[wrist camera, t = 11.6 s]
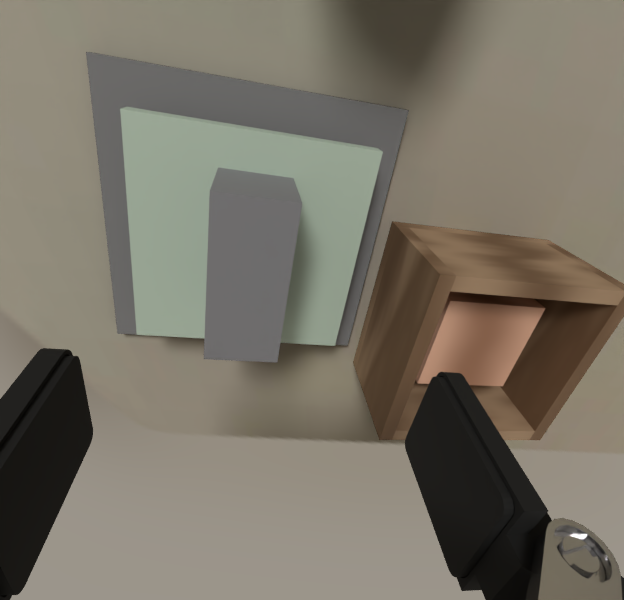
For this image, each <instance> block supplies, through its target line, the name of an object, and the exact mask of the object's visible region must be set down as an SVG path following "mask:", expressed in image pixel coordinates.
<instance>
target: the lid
mask: <svg viewBox="0 0 624 600" xmlns="http://www.w3.org/2000/svg"><path fill="white" fill-rule="evenodd" d="M120 113H121V127H122V140H123V154H124V168H125V182H126V195H127V209H128V223H129V236H130V250H131V264H132V277H133V291H134V305H135V318H136V332H137V335H151V336H169V337H187V338H204V359H214V360H236V361H258V362H277V361H278V355H279V348H280V343H293V344H311V345H329V346H335V343H336V339H337V335H338V331H339V327H340V323H341V319H342V315H343V311H344V307H345V303H346V299H347V295H348V291H349V287H350V283H351V279H352V275H353V271H354V267H355V263H356V259H357V255H358V251H359V246H360V242H361V238H362V234H363V230H364V226H365V222H366V218H367V214H368V210H369V206H370V202H371V198H372V194H373V190H374V186H375V182H376V178H377V174H378V170H379V166H380V162H381V158H382V154H383V151H381V150H379V149H378V148H374V147H368V146H362V145H356V144H350V143H344V142H338V141H332V140H326V139H319V138H313V137H307V136H301V135H295V134H289V133H283V132H277V131H271V130H265V129H259V128H253V127H247V126H241V125H235V124H229V123H223V122H217V121H211V120H205V119H199V118H193V117H186V116H180V115H174V114H168V113H162V112H156V111H150V110H144V109H138V108H132V107H124V108H121V109H120Z"/></svg>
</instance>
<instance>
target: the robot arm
mask: <svg viewBox="0 0 624 600" xmlns="http://www.w3.org/2000/svg"><path fill="white" fill-rule="evenodd" d="M92 436H93V427H92V422H91V416H90V411H89V406H88V401H87V395H86V390H85V385H84V380H83V374H82V369H81V364H80V360H79V357H78V356H73V355H72V352H71V351H70V350H64V349H47V348H43V349H40V350H39V351H38V352H37V354H36V355H35V356H34V357H33V359H32V360H31V361H30V363H29V364H28V365H27V366H26V367H25V369H24V370H23V371H22V373H21V374H20V375H19V376H18V378H17V379H16V380H15V382H14V383H13V384H12V385H11V386H10V388H9V389H8V390H7V392H6V393H5V394H4V395H3V397H2V398H1V399H0V600H10V598H11V596H12V595H18V594H19V593H20V592H21V591H22V589H23V588H24V586H25V584H26V582H27V580H28V578H29V576H30V573H31V571H32V569H33V567H34V565H35V563H36V561H37V558H38V556H39V554H40V552H41V550H42V548H43V545H44V543H45V541H46V539H47V537H48V535H49V532H50V530H51V528H52V526H53V524H54V522H55V519H56V517H57V515H58V513H59V511H60V509H61V506H62V504H63V502H64V500H65V498H66V496H67V493H68V491H69V489H70V487H71V484H72V483H73V480H74V478H75V476H76V474H77V472H78V470H79V467H80V465H81V463H82V461H83V458H84V457H85V455H86V452H87V450H88V448H89V446H90V443H91V440H92ZM405 448H406V452H407V454H408V457H409V460H410V463H411V466H412V468H413V471H414V474H415V477H416V480H417V482H418V485H419V488H420V490H421V494H422V496H423V499H424V502H425V505H426V507H427V510H428V513H429V516H430V518H431V521H432V524H433V527H434V530H435V533H436V535H437V538H438V541H439V543H440V546H441V549H442V552H443V554H444V558H445V560H446V563H447V566H448V568H449V571H450V572H451V574H452V575H453V576H454V577H457V579H458V582H459V585H460V587H461V590H462V591H466V590H467V591H468V590H482V592H483V594H484V597H485V599H486V600H624V578H623V577H622V576H621V574H620V570H619V566H618V564H617V562H616V560H615V558H614V556H613V554H612V553H611V551H610V550H609V549H608V547H607V546H606V545H605V544H604V542H602V540H601V539H599V538H598V537H597V536H596V535H595V534H594V533H593V532H592V531H590V530H589V529H587V528H586V527H584V526H583V525H581V524H579V523H577V522H575V521H572V520H568V519H564V518H560V519H554V520H553V521H552V520H551V518H550V517H549V515H548V513H547V512H548V510H547V508H546V507H545V505H544V503H543V502H542V500H541V498H540V497H539V495H538V494H537V492H536V491H535V489H534V487H533V486H532V484H531V483H530V481H529V479H528V478H527V476H526V475H525V473H524V471H523V470H522V468H521V467H520V465H519V464H518V462H517V461H516V459H515V457H514V455H513V454H512V453H511V451H510V449H509V448H508V446H507V444H506V443H505V441H504V440H503V438H502V436H501V435H500V433H499V432H498V430H497V428H496V427H495V425H494V424H493V422H492V420H491V419H490V417H489V416H488V414H487V412H486V411H485V409H484V408H483V406H482V405H481V403H480V401H479V400H478V398H477V397H476V395H475V393H474V392H473V390H472V389H471V387H470V385H469V384H468V382H467V381H466V379H465V377H464V376H463V375H462V374H461V373H454V372H439V373H438V374H437V376H436V377H433V378H432V379H431V381H430V383H429V385H428V388H427V390H426V392H425V394H424V397H423V399H422V401H421V404H420V406H419V408H418V411H417V413H416V415H415V418H414V420H413V422H412V424H411V427H410V429H409V431H408V434H407V436H406V439H405Z"/></svg>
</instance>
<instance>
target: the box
mask: <svg viewBox="0 0 624 600" xmlns="http://www.w3.org/2000/svg"><path fill="white" fill-rule="evenodd" d="M623 317H624V284H623V283H621V282H619V281H618V280H616V279H614V278H613V277H611V276H609V275H607V274H606V273H604V272H602V271H601V270H599V269H597V268H595V267H594V266H592V265H590V264H589V263H587V262H585V261H583V260H582V259H580V258H578V257H576V256H575V255H573V254H571V253H570V252H568V251H566V250H564V249H563V248H561V247H559V246H558V245H556V244H554V243H552V242H551V241H549V240H542V239H534V238H526V237H517V236H509V235H501V234H492V233H484V232H476V231H467V230H459V229H451V228H442V227H434V226H425V225H417V224H409V223H400V222H392V224H391V228H390V231H389V235H388V239H387V242H386V246H385V250H384V253H383V257H382V260H381V264H380V268H379V271H378V275H377V278H376V282H375V286H374V289H373V293H372V296H371V300H370V304H369V307H368V311H367V315H366V318H365V322H364V325H363V329H362V333H361V336H360V340H359V343H358V347H357V351H356V354H355V358H354V361H353V363H354V366H355V369H356V372H357V375H358V378H359V381H360V384H361V387H362V390H363V393H364V396H365V399H366V402H367V404H368V407H369V410H370V413H371V416H372V419H373V422H374V425H375V428H376V431H377V434H378V437H379V440H405V439H406V436H407V434H408V431H409V429H410V427H411V424H412V422H413V420H414V418H415V415H416V413H417V411H418V408H419V406H420V404H421V401H422V399H423V397H424V394H425V392H426V390H427V388H428V385H429V383H430V381H431V379H432V378H433V377H436V376H437V374H438V373H439V372H454V373H461V374H462V375H463V376H464V377H465V379H466V381H467V382H468V384H469V385H470V387H471V389H472V390H473V392H474V393H475V395H476V397H477V398H478V400H479V401H480V403H481V405H482V406H483V408H484V409H485V411H486V412H487V414H488V416H489V417H490V419H491V420H492V422H493V424H494V425H495V427H496V428H497V430H498V432H499V433H500V435H501V436H502V438H503V440H540V439H541V438H542V436H543V435H544V433H545V432H546V430H547V429H548V427H549V426H550V425H551V423H552V422H553V420H554V419H555V417H556V416H557V414H558V413H559V411H560V410H561V408H562V407H563V405H564V404H565V402H566V401H567V399H568V398H569V396H570V395H571V394H572V392H573V391H574V389H575V388H576V386H577V385H578V383H579V382H580V380H581V379H582V377H583V376H584V374H585V373H586V371H587V370H588V368H589V367H590V365H591V364H592V363H593V361H594V360H595V358H596V357H597V355H598V354H599V352H600V351H601V349H602V348H603V346H604V345H605V343H606V342H607V340H608V339H609V337H610V336H611V334H612V333H613V332H614V330H615V329H616V327H617V326H618V324H619V323H620V321H621V320H622V318H623Z"/></svg>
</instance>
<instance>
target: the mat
mask: <svg viewBox="0 0 624 600" xmlns="http://www.w3.org/2000/svg"><path fill="white" fill-rule="evenodd" d="M86 56H87V65H88V74H89V83H90V92H91V101H92V110H93V118H94V127H95V136H96V145H97V154H98V163H99V172H100V181H101V190H102V199H103V208H104V217H105V226H106V235H107V244H108V253H109V262H110V270H111V279H112V288H113V297H114V306H115V315H116V324H117V333H118V334H137V332H136V318H135V305H134V291H133V277H132V264H131V250H130V236H129V223H128V209H127V195H126V182H125V168H124V154H123V140H122V127H121V113H120V109H121V108H124V107H132V108H138V109H144V110H150V111H156V112H162V113H168V114H174V115H180V116H186V117H193V118H199V119H205V120H211V121H217V122H223V123H229V124H235V125H241V126H247V127H253V128H259V129H265V130H271V131H277V132H283V133H289V134H295V135H301V136H307V137H313V138H319V139H326V140H332V141H338V142H344V143H350V144H356V145H362V146H368V147H374V148H378V149H379V150H381V151H383V154H382V158H381V162H380V166H379V170H378V174H377V178H376V182H375V186H374V190H373V194H372V198H371V202H370V206H369V210H368V214H367V218H366V222H365V226H364V230H363V234H362V238H361V242H360V246H359V251H358V255H357V259H356V263H355V267H354V271H353V275H352V279H351V283H350V287H349V291H348V295H347V299H346V303H345V307H344V311H343V315H342V319H341V323H340V327H339V331H338V335H337V339H336V343H335V345H348V342H349V338H350V334H351V330H352V327H353V323H354V319H355V315H356V311H357V307H358V303H359V300H360V296H361V292H362V288H363V284H364V280H365V277H366V273H367V269H368V265H369V261H370V257H371V253H372V250H373V246H374V242H375V238H376V234H377V230H378V227H379V223H380V219H381V215H382V211H383V207H384V204H385V200H386V196H387V192H388V188H389V184H390V180H391V177H392V173H393V169H394V165H395V161H396V157H397V154H398V150H399V146H400V142H401V138H402V134H403V130H404V127H405V123H406V119H407V115H408V111H409V110H405V109H400V108H394V107H389V106H383V105H378V104H372V103H367V102H361V101H356V100H350V99H345V98H339V97H334V96H328V95H323V94H317V93H312V92H306V91H301V90H295V89H290V88H284V87H279V86H273V85H268V84H262V83H257V82H251V81H246V80H240V79H235V78H229V77H224V76H218V75H213V74H207V73H202V72H196V71H191V70H185V69H180V68H174V67H169V66H163V65H158V64H152V63H147V62H141V61H136V60H130V59H125V58H119V57H114V56H108V55H103V54H97V53H92V52H86Z"/></svg>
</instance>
